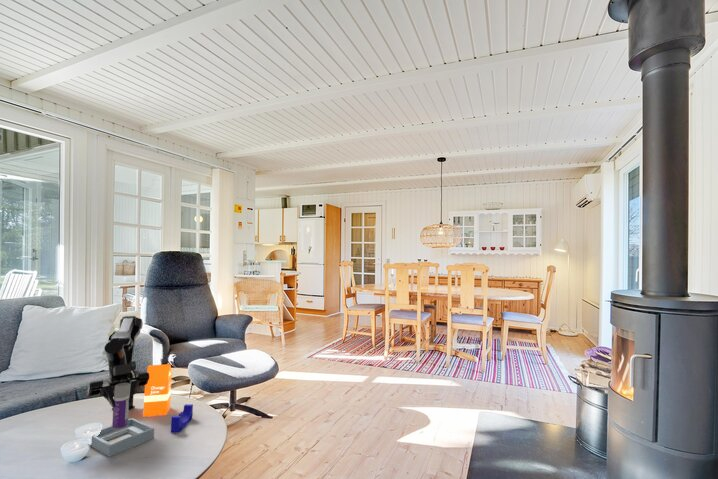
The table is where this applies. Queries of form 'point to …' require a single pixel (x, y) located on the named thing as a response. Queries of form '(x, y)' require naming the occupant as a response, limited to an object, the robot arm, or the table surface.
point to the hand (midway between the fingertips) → (121, 405)
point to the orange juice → (158, 390)
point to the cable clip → (182, 419)
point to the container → (120, 406)
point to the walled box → (134, 427)
